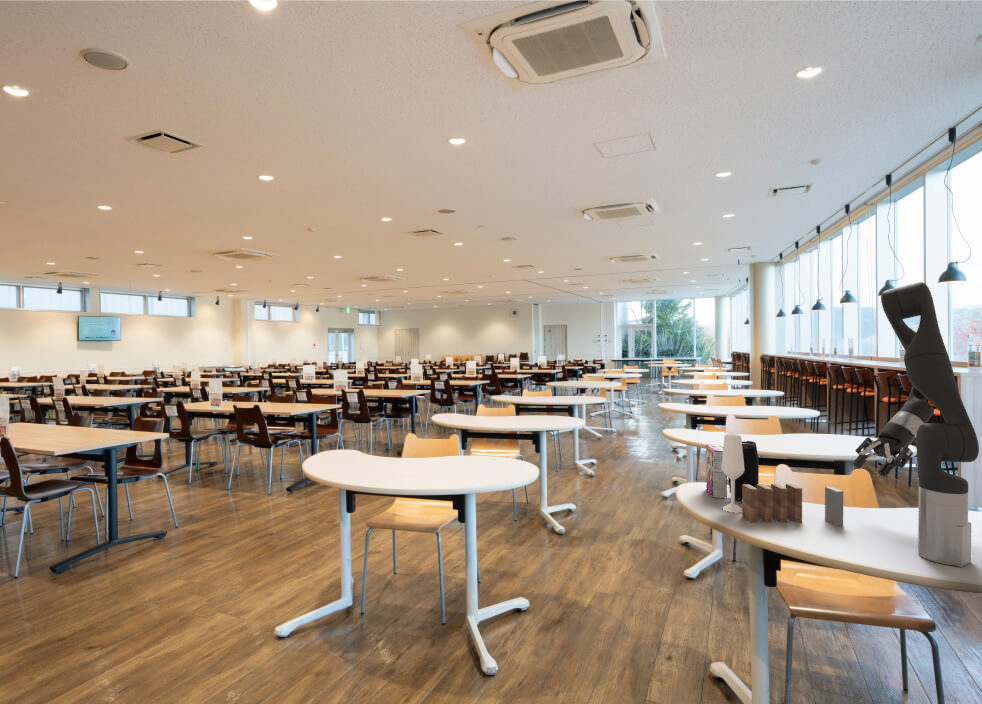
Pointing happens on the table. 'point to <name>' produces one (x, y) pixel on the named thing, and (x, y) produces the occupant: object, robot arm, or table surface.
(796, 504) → the walnut domino
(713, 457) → the candy bar box
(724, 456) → the champagne flute
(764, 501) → the walnut domino
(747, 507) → the walnut domino
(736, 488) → the portable speaker
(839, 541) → the table surface
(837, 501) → the grey domino
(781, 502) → the walnut domino
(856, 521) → the table surface
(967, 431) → the robot arm
